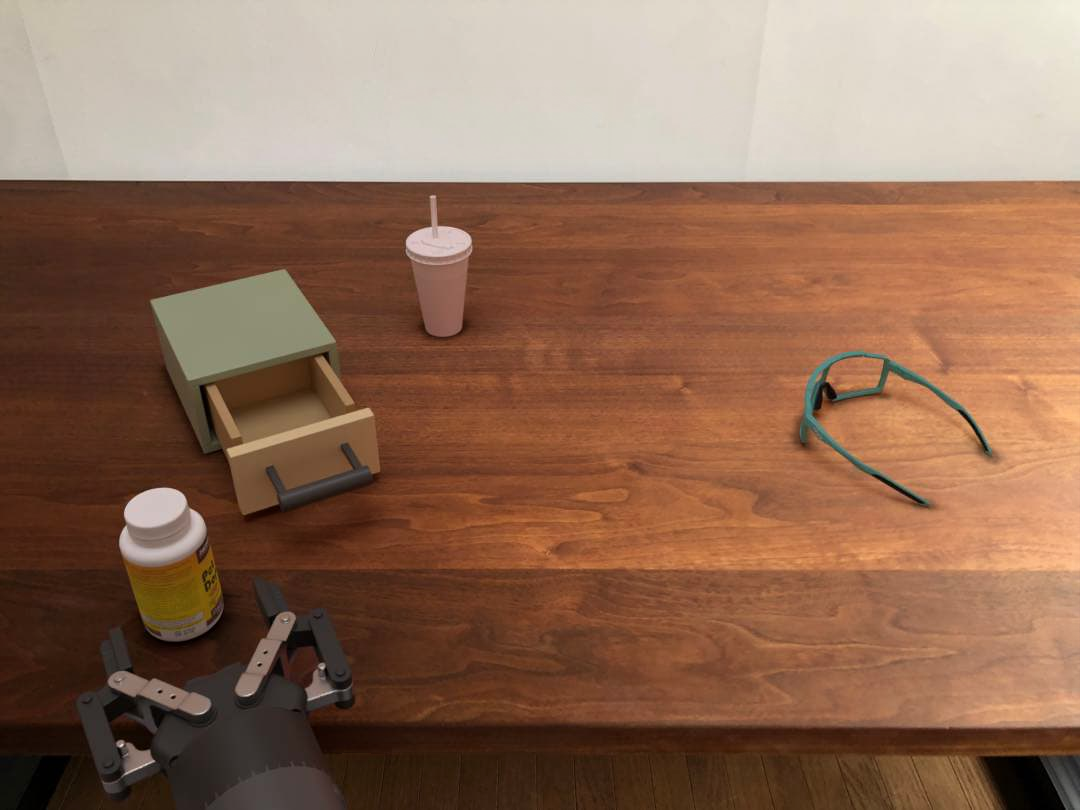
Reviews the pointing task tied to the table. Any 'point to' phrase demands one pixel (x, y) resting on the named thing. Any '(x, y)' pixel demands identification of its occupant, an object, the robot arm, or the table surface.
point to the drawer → (291, 434)
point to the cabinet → (235, 337)
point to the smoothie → (440, 274)
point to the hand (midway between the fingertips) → (190, 612)
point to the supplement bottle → (170, 565)
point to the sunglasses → (821, 385)
